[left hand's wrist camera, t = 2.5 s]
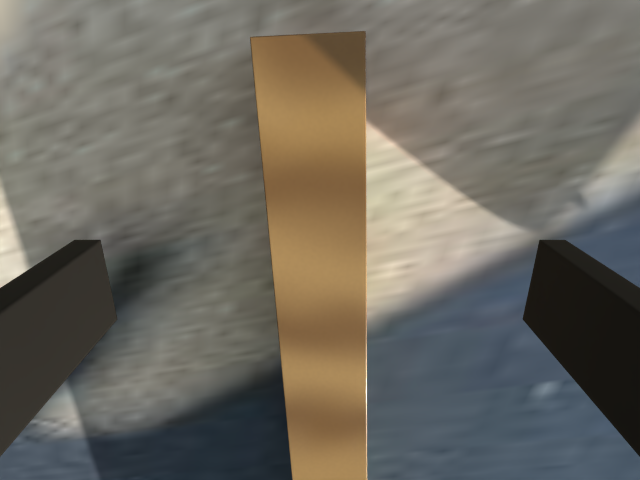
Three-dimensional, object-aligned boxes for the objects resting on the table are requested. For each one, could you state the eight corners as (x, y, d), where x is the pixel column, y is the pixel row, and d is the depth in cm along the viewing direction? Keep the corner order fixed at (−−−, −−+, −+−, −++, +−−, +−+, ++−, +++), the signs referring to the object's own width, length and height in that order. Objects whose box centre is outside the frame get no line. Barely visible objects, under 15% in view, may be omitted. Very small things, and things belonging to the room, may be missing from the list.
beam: (269, 49, 26) (249, 36, 19) (353, 45, 26) (365, 31, 19) (317, 644, 50) (316, 736, 43) (361, 643, 50) (367, 736, 43)
